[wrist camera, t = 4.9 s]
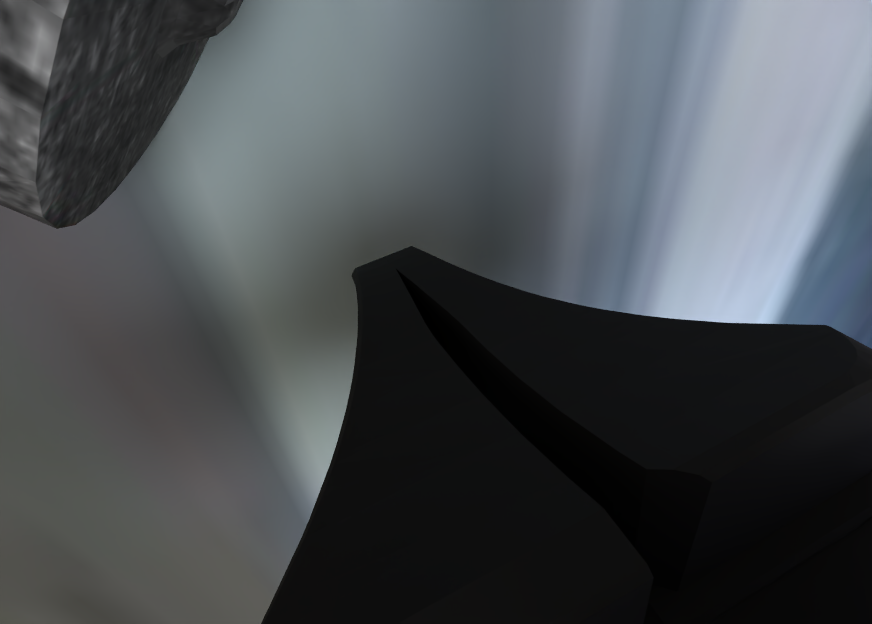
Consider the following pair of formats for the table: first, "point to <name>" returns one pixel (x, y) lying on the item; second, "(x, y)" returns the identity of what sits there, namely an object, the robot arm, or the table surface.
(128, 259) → the table surface
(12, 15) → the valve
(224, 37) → the table surface
